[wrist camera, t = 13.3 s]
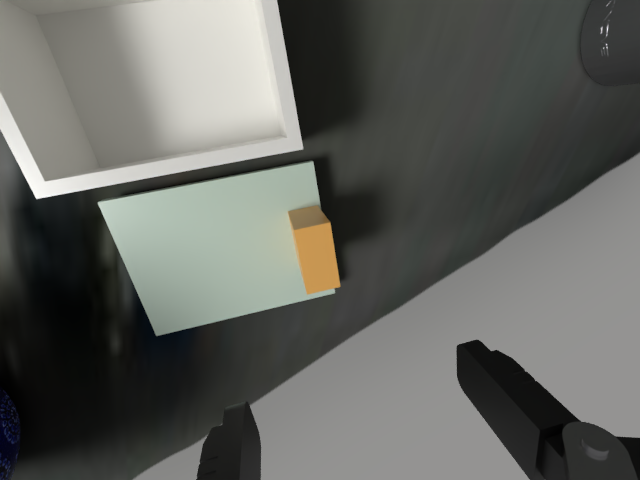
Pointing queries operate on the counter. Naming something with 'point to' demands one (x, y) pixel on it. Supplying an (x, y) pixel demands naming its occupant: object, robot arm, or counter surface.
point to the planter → (8, 436)
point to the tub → (141, 88)
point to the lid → (225, 245)
